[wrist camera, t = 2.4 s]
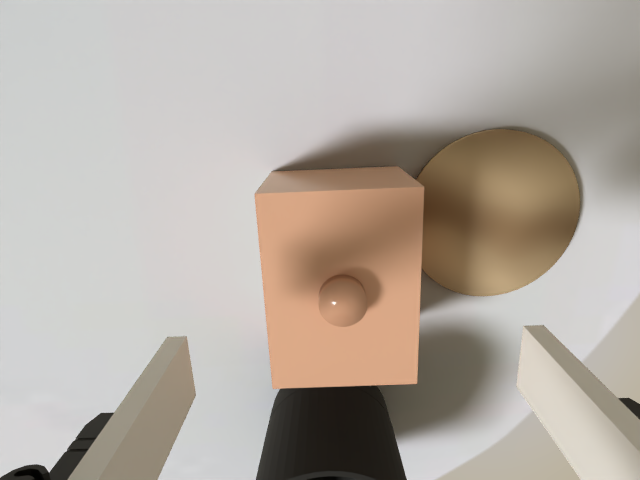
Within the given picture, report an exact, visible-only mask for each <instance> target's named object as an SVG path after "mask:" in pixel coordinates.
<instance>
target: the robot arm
mask: <svg viewBox="0 0 640 480" xmlns="http://www.w3.org/2000/svg"><path fill="white" fill-rule="evenodd" d="M516 387H517V388H518V390H519V391H520V392H521V394H522V395H523V397H524V398H525V400H526V401H527V403H528V404H529V405H530V407H531V408H532V410H533V411H534V413H535V414H536V416H537V417H538V418H539V420H540V421H541V423H542V424H543V425H544V427H545V428H546V430H547V431H548V433H549V434H550V436H551V437H552V438H553V440H554V441H555V443H556V444H557V445H558V447H559V449H560V450H561V452H562V453H563V455H564V456H565V457H566V459H567V460H568V462H569V463H570V465H571V466H572V467H573V469H574V470H575V472H576V473H577V475H578V476H579V477H580V479H581V480H640V404H639V403H637V402H635V401H633V400H632V399H630V398H617V397H616V396H615V395H614V394H613V393H612V392H611V391H610V390H609V389H608V388H607V387H606V386H605V385H604V384H603V383H602V382H601V381H600V380H599V379H598V378H597V377H596V376H595V375H594V374H593V373H592V372H590V370H588V368H586V367H585V366H584V365H583V364H582V363H581V362H580V361H579V360H578V359H577V358H576V357H575V356H574V355H573V354H572V353H571V352H570V351H569V350H568V349H567V348H566V347H565V346H564V345H563V344H562V343H561V342H560V341H559V340H558V339H557V338H556V337H555V336H554V335H553V334H552V333H551V332H550V331H549V330H548V329H547V328H546V327H545V326H544V325H536V326H523V334H522V342H521V351H520V359H519V368H518V376H517V385H516ZM195 396H196V393H195V386H194V380H193V374H192V367H191V361H190V355H189V348H188V342H187V336H183V337H167V338H166V340H165V341H164V343H163V344H162V345H161V347H160V348H159V350H158V351H157V353H156V354H155V355H154V357H153V358H152V360H151V361H150V363H149V364H148V365H147V367H146V368H145V370H144V371H143V372H142V374H141V375H140V377H139V378H138V380H137V381H136V382H135V384H134V385H133V387H132V388H131V390H130V391H129V392H128V394H127V395H126V397H125V398H124V400H123V401H122V402H121V404H120V405H119V407H118V408H117V410H116V411H115V412H114V413H100V414H99V415H98V416H97V417H95V418H94V419H93V420H91V421H90V422H89V423H88V424H86V425H85V427H84V428H83V429H82V431H81V432H80V433H79V434H78V436H77V437H76V440H75V441H73V442H72V444H71V445H70V446H69V448H68V449H67V452H65V453H64V454H63V455H62V457H61V458H60V459H59V461H58V462H57V463H56V465H55V466H54V467H53V468H52V470H51V471H50V472H48V471H47V469H46V468H45V467H44V466H41V465H37V464H36V465H27V466H23V467H21V468H18V469H15V470H13V471H11V472H9V473H7V474H6V475H4V476H2V477H1V478H0V480H157V479H158V477H159V475H160V473H161V471H162V468H163V466H164V464H165V462H166V460H167V457H168V455H169V453H170V451H171V449H172V446H173V444H174V442H175V440H176V438H177V435H178V433H179V431H180V429H181V427H182V425H183V422H184V420H185V418H186V416H187V414H188V411H189V409H190V407H191V405H192V403H193V400H194V398H195Z"/></svg>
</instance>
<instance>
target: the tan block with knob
mask: <svg viewBox="0 0 640 480" xmlns="http://www.w3.org/2000/svg"><path fill="white" fill-rule="evenodd" d="M255 204H256V215H257V225H258V236H259V247H260V258H261V268H262V279H263V290H264V301H265V311H266V322H267V333H268V344H269V354H270V365H271V376H272V387H273V389H281V388H311V387H341V386H371V385H401V384H417V375H418V347H419V319H420V291H421V264H422V236H423V208H424V186H423V185H421V184H420V183H419V182H418V181H416V180H415V179H414V178H413V177H411V176H410V175H409V174H407V173H406V172H405V171H404V170H402V169H401V168H400V167H399V166H388V167H364V168H341V169H317V170H293V171H272V172H271V173H270V174H269V176H268V177H267V178H266V179H265V181H264V182H263V183H262V185H261V186H260V187H259V189H258V190H257V191H256V193H255Z"/></svg>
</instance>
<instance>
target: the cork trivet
mask: <svg viewBox="0 0 640 480" xmlns="http://www.w3.org/2000/svg"><path fill="white" fill-rule="evenodd" d="M416 181H418V182H419V183H420V184H421V185H423V186H424V208H423V236H422V264H421V268H422V269H423V270H424V272H425V273H426V274H427V275H428V276H429V277H430V278H432V279H433V280H434V281H435V282H437V283H438V284H440V285H442V286H443V287H445V288H447V289H450V290H452V291H454V292H458V293H461V294H465V295H472V296H493V295H499V294H504V293H508V292H511V291H514V290H517V289H519V288H521V287H524V286H526V285H528V284H529V283H531V282H533V281H534V280H536V279H538V278H539V277H540V276H542V275H543V274H544V273H546V272H547V271H548V270H549V269H550V268H551V267H552V266H553V265H554V264H555V263H556V262H557V260H558V259H559V258H560V257H561V256H562V254H563V253H564V251H565V250H566V248H567V247H568V245H569V243H570V241H571V239H572V237H573V235H574V232H575V229H576V226H577V222H578V218H579V211H580V193H579V188H578V183H577V180H576V177H575V174H574V172H573V170H572V168H571V166H570V164H569V162H568V161H567V160H566V159H565V157H564V156H563V155H562V154H561V153H560V152H559V151H558V150H557V149H556V148H555V147H554V146H553V145H551V144H550V143H548V142H547V141H545V140H543V139H541V138H539V137H537V136H535V135H532V134H529V133H526V132H522V131H516V130H508V129H494V130H485V131H480V132H476V133H473V134H470V135H467V136H465V137H462V138H460V139H458V140H456V141H454V142H452V143H451V144H449V145H448V146H446V147H445V148H443V149H442V150H441V151H440V152H438V153H437V154H436V155H435V156H434V157H433V158H432V159H431V160H430V161H429V162H428V163H427V164H426V166H425V167H424V168H423V169H422V171H421V172H420V174H419V175H418V177H417V179H416Z"/></svg>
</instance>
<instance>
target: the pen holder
mask: <svg viewBox="0 0 640 480" xmlns="http://www.w3.org/2000/svg"><path fill="white" fill-rule="evenodd" d="M256 480H407V479H406V476H405V472H404V468H403V464H402V461H401V457H400V453H399V450H398V446H397V442H396V439H395V435H394V431H393V428H392V424H391V421H390V418H389V414H388V411H387V407H386V404H385V401H384V398H383V396H382V394H381V392H380V390H379V389H378V387H377V386H376V385H371V386H341V387H311V388H281V389H280V390H279V392H278V394H277V396H276V398H275V401H274V405H273V408H272V412H271V416H270V421H269V425H268V428H267V433H266V437H265V442H264V446H263V451H262V455H261V459H260V464H259V468H258V473H257V477H256Z"/></svg>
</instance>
